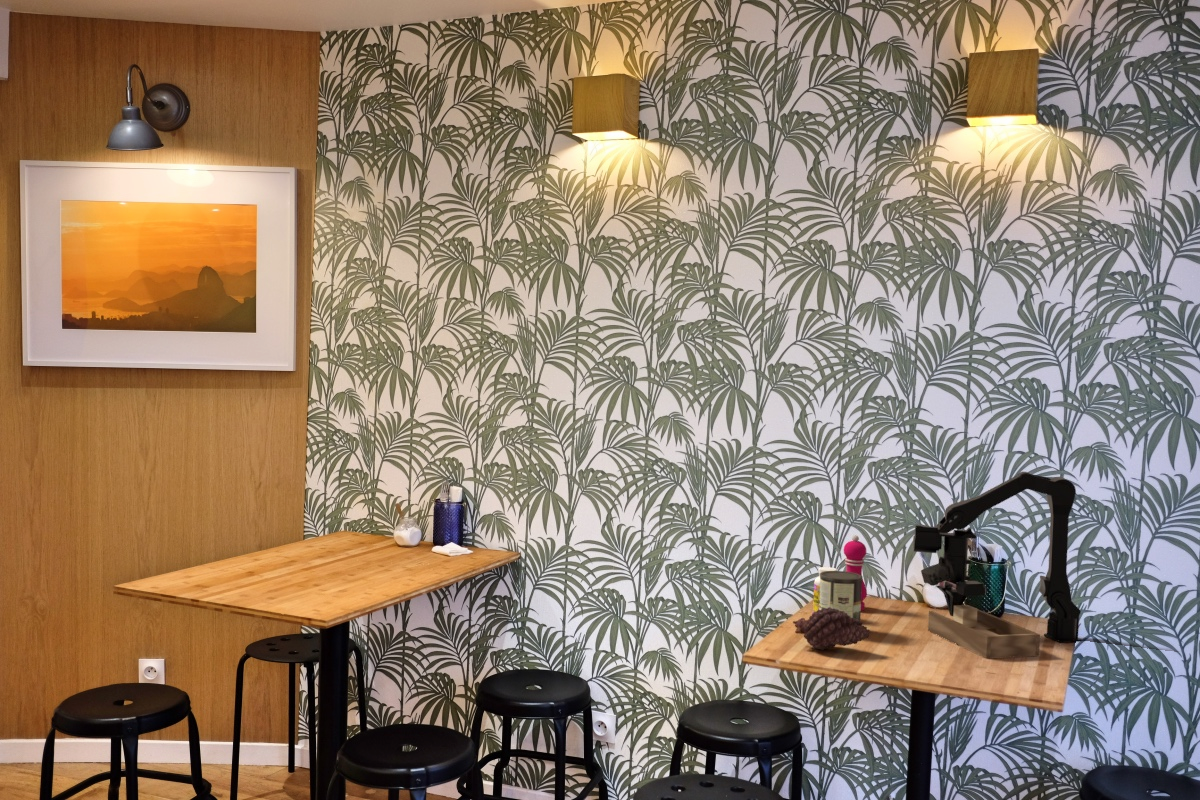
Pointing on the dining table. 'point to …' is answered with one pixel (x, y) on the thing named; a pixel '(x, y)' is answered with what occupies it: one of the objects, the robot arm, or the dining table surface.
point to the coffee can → (841, 592)
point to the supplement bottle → (817, 588)
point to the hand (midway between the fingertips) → (952, 615)
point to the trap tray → (987, 636)
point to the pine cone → (831, 629)
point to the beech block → (965, 615)
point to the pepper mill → (856, 562)
